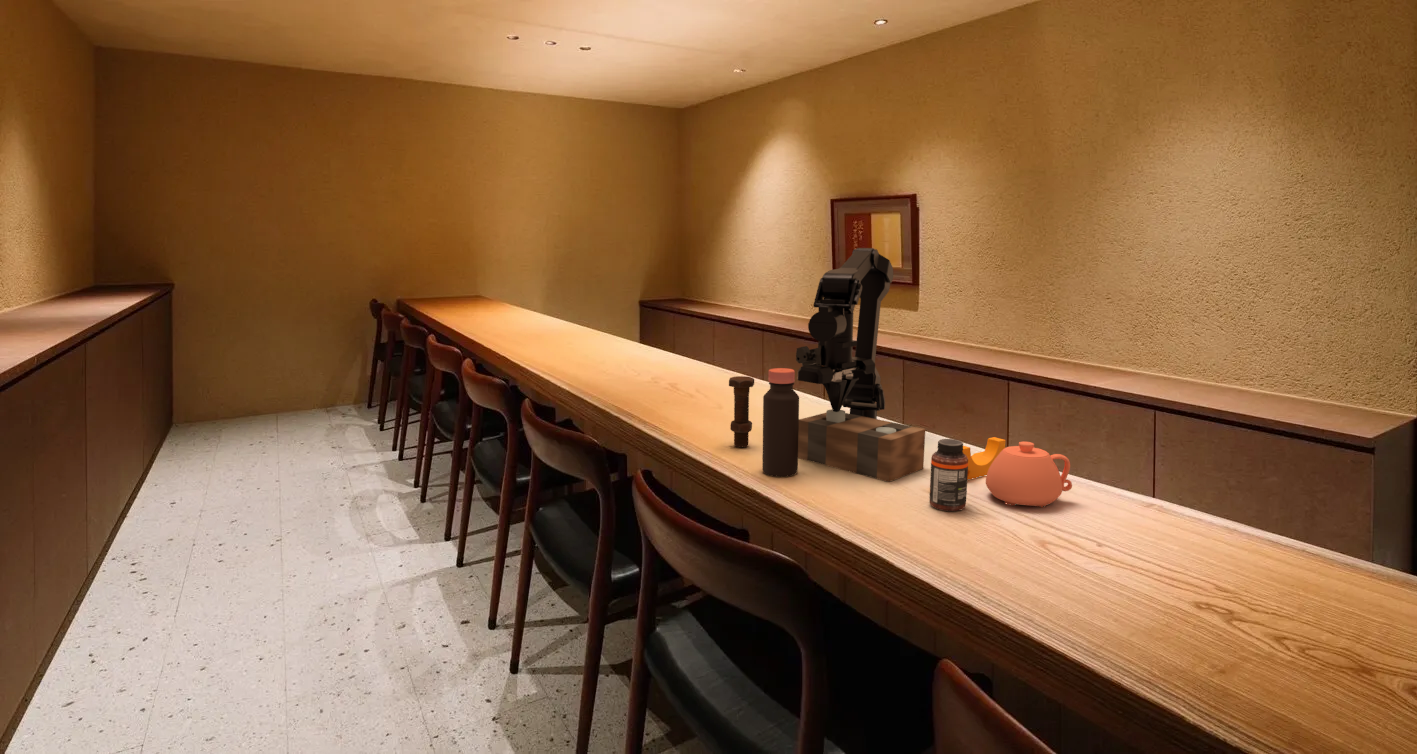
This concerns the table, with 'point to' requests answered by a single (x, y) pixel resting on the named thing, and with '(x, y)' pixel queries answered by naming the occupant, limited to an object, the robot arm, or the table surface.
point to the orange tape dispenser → (983, 457)
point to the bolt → (741, 409)
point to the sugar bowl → (1027, 476)
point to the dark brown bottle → (780, 424)
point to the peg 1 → (835, 416)
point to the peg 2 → (886, 430)
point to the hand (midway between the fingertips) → (836, 411)
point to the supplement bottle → (949, 476)
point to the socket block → (862, 446)
